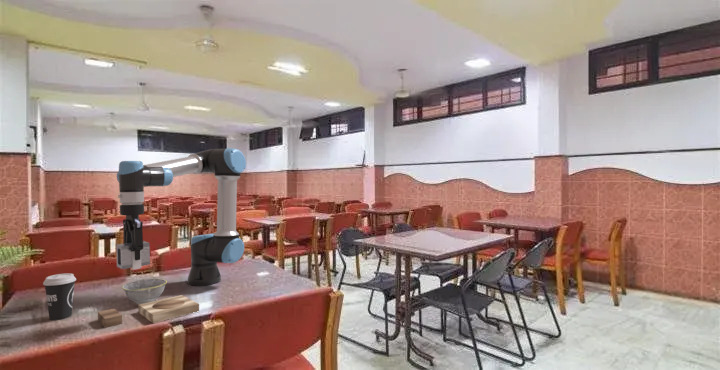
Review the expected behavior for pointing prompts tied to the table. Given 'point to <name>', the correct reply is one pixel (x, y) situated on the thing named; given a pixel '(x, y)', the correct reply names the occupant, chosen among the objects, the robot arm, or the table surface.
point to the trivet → (168, 308)
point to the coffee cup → (59, 295)
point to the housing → (126, 255)
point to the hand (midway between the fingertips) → (133, 267)
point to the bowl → (144, 290)
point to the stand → (109, 318)
